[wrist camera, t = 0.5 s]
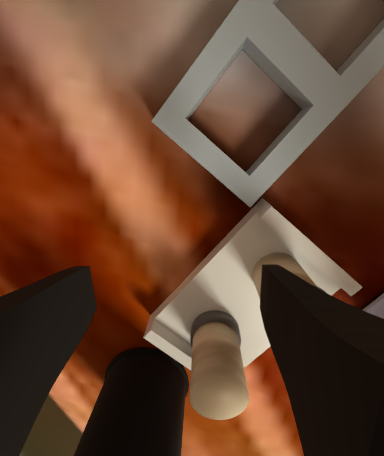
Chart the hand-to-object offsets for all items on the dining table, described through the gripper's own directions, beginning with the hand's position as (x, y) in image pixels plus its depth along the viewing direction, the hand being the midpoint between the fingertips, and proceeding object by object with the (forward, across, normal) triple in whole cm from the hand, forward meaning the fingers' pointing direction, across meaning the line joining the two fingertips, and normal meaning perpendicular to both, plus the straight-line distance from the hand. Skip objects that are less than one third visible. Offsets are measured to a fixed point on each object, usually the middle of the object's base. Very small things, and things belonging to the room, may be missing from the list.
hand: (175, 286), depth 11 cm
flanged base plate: (+10, -4, +7) cm, 13 cm away
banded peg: (+8, -2, +9) cm, 13 cm away
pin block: (+10, -6, -10) cm, 16 cm away
